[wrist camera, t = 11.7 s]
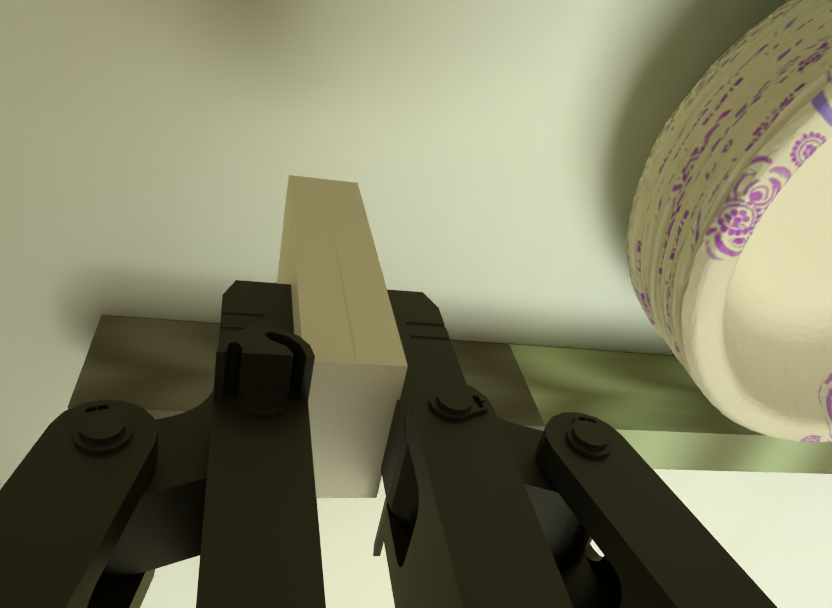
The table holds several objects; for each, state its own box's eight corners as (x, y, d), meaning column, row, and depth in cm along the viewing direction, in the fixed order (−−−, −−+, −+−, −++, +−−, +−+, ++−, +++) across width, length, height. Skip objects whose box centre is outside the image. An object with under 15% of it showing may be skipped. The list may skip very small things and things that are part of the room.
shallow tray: (103, 358, 27) (71, 452, 23) (69, -433, 16) (-7, -525, 11) (933, 405, 37) (1015, 478, 32) (1293, -63, 25) (1491, -41, 21)
